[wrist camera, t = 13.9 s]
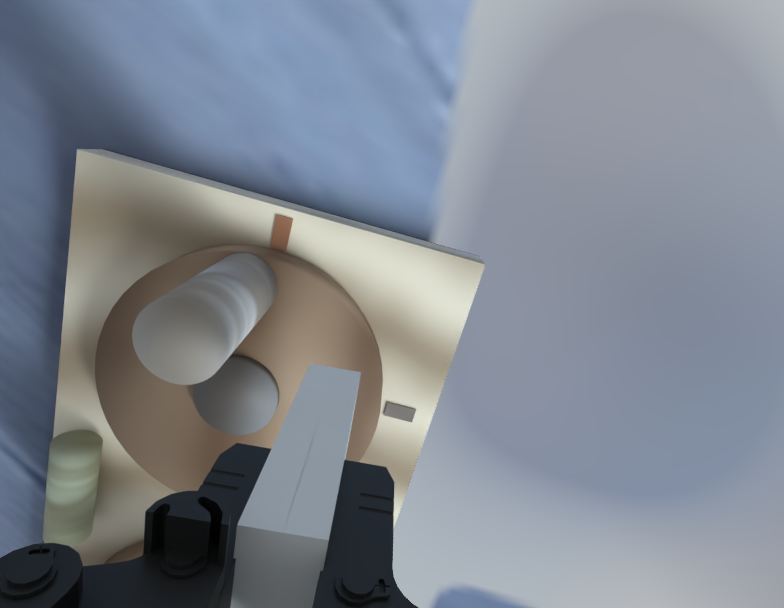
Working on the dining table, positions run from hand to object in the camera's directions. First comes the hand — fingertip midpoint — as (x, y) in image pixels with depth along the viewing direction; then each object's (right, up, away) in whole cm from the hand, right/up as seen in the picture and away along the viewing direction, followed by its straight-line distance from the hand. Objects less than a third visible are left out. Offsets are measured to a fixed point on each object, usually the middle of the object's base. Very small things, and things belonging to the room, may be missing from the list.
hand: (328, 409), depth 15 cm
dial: (-6, -1, +12) cm, 13 cm away
